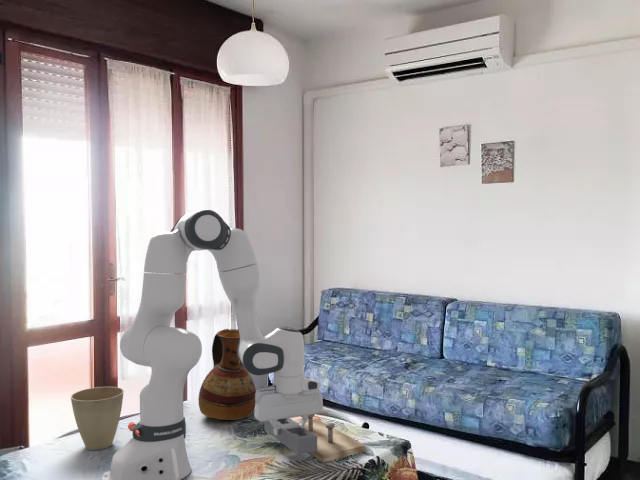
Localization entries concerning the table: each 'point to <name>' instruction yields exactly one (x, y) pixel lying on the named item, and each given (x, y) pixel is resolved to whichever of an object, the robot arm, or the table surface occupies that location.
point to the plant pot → (97, 415)
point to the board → (331, 441)
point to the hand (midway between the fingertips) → (289, 432)
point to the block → (293, 436)
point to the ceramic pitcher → (227, 381)
